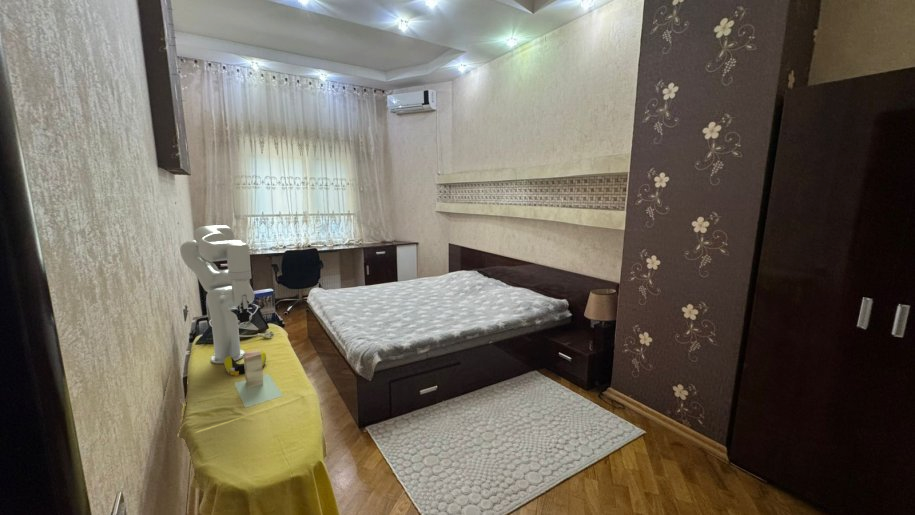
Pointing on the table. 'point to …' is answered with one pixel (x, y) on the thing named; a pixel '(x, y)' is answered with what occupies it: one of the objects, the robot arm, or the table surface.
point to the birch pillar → (253, 368)
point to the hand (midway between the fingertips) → (243, 320)
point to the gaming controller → (239, 365)
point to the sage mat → (258, 391)
